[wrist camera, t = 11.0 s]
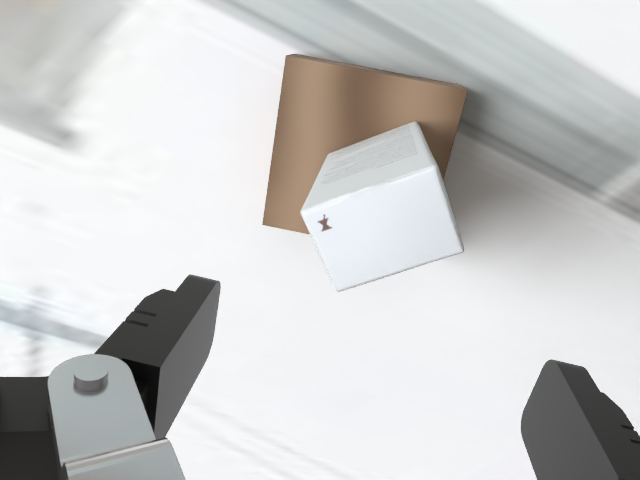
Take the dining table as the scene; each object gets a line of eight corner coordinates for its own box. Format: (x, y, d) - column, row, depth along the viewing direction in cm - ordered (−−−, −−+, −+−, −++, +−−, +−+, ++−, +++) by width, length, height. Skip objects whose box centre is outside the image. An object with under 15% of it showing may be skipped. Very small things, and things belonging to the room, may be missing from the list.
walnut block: (458, 84, 34) (467, 89, 30) (417, 235, 38) (421, 256, 34) (295, 53, 34) (285, 55, 31) (273, 206, 39) (262, 224, 35)
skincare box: (350, 213, 34) (332, 296, 23) (326, 152, 33) (294, 209, 21) (440, 182, 32) (467, 254, 21) (419, 117, 31) (436, 159, 20)
